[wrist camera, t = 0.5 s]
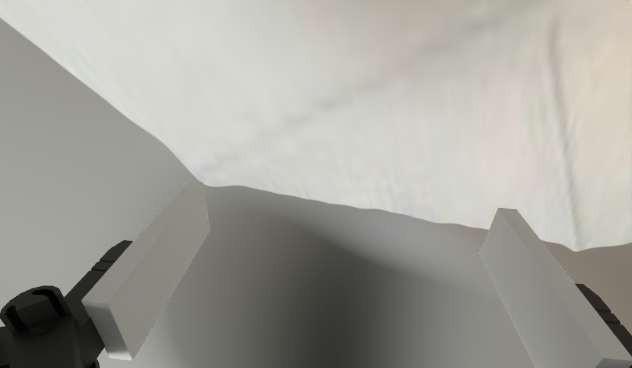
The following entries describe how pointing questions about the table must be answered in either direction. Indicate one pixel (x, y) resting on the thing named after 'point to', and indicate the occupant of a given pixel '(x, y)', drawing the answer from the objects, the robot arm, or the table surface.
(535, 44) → the table surface
